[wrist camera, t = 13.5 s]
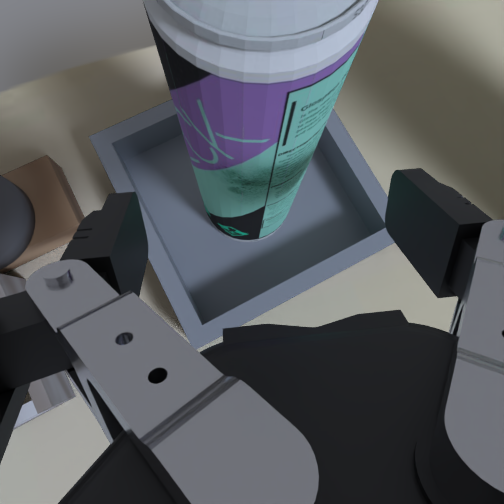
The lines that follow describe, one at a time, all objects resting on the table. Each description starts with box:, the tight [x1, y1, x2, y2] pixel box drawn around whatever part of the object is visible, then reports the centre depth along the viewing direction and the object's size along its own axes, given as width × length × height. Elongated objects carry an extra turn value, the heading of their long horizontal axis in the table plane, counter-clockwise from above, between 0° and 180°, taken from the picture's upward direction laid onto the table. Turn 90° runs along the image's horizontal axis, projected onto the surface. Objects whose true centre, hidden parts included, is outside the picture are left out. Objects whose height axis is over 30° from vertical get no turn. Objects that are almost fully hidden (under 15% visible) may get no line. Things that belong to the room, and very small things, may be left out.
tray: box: [89, 99, 395, 349], centre depth 24 cm, size 14×14×4 cm
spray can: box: [143, 0, 379, 242], centre depth 15 cm, size 6×6×20 cm
